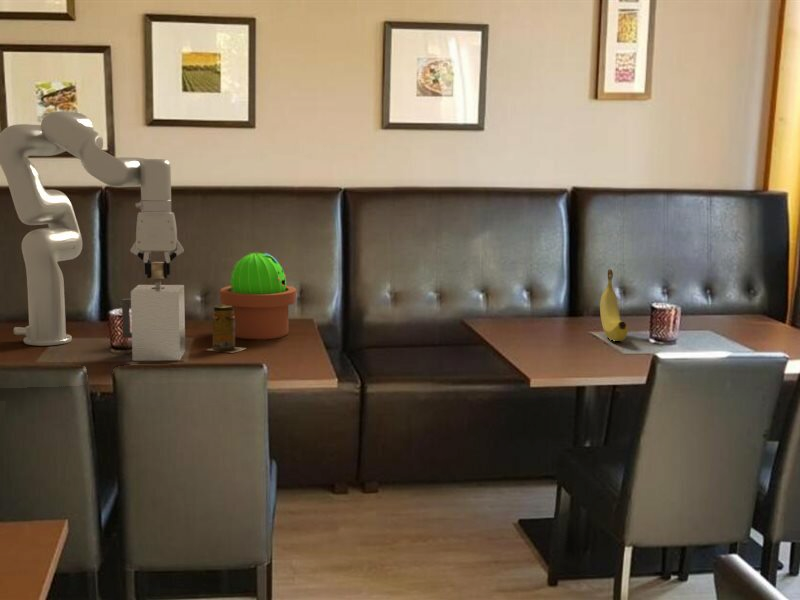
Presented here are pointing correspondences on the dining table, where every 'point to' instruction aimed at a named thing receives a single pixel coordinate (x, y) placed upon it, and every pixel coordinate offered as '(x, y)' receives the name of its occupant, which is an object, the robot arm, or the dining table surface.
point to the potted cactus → (259, 297)
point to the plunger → (157, 273)
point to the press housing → (155, 322)
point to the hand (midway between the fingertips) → (157, 276)
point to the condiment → (224, 330)
